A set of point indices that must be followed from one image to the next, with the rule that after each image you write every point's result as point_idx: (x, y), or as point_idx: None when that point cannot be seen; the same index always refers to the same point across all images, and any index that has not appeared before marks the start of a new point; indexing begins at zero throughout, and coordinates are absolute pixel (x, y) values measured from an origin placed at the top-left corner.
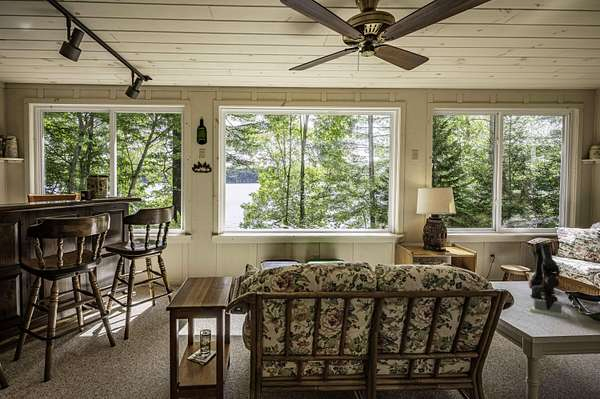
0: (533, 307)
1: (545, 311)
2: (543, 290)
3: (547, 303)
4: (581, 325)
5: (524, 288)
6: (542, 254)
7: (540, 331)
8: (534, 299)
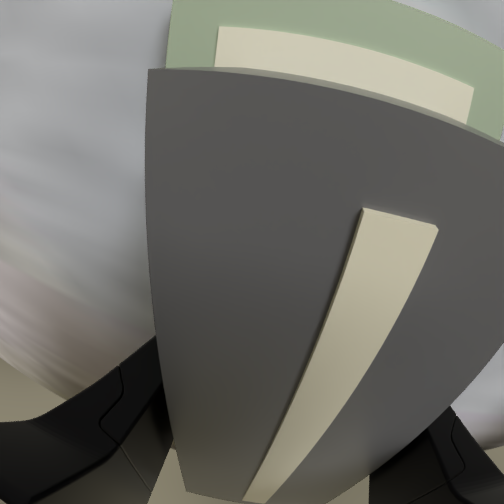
0: (353, 73)
1: None
2: None
3: (105, 395)
4: (73, 379)
5: None
6: None
7: None
8: (470, 131)
